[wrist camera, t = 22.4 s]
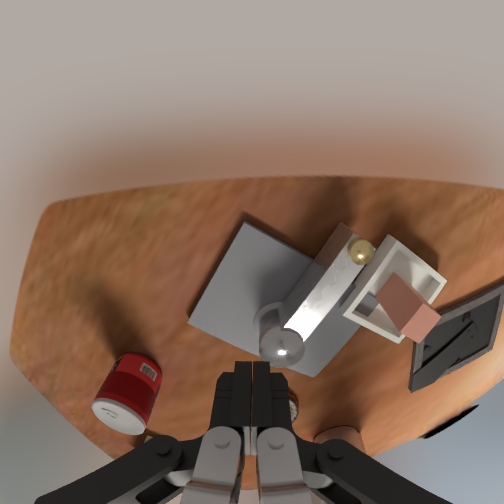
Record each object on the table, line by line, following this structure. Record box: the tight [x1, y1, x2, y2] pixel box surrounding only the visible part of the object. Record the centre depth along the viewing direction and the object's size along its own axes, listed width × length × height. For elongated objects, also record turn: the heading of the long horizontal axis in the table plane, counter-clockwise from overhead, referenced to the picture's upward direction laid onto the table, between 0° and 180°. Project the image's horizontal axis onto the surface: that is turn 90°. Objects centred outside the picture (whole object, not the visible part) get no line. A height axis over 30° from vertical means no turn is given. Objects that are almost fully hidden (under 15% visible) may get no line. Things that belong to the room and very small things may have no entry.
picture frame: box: [408, 281, 504, 393], centre depth 36 cm, size 16×2×21 cm
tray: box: [340, 234, 447, 344], centre depth 32 cm, size 11×11×3 cm
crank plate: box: [187, 221, 379, 378], centre depth 34 cm, size 20×15×1 cm
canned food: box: [92, 352, 162, 435], centre depth 34 cm, size 8×8×11 cm
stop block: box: [375, 272, 441, 343], centre depth 29 cm, size 4×4×8 cm
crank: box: [259, 221, 376, 368], centre depth 29 cm, size 17×5×6 cm, turn 149°
